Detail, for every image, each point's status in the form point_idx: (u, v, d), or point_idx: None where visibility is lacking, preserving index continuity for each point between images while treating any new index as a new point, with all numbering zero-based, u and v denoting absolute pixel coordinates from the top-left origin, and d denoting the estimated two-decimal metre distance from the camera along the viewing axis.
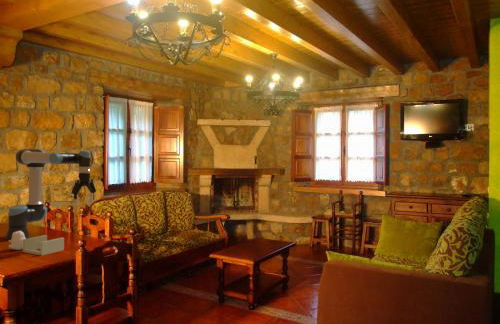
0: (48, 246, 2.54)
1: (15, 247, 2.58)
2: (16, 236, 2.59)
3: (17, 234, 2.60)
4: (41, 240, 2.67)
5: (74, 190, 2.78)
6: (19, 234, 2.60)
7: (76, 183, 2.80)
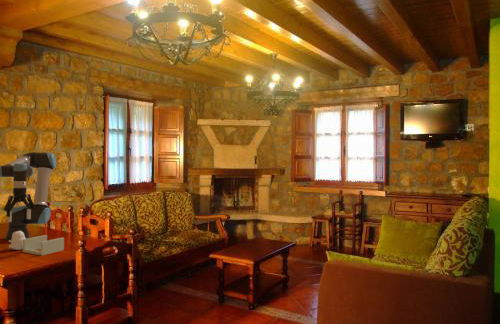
0: (48, 246, 2.54)
1: (15, 247, 2.58)
2: (16, 236, 2.59)
3: (17, 234, 2.60)
4: (41, 240, 2.67)
5: (6, 207, 2.53)
6: (19, 234, 2.60)
7: (9, 199, 2.56)
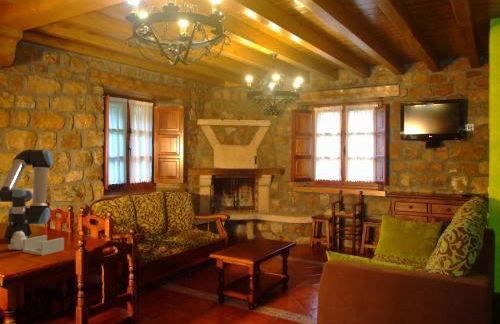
0: (48, 246, 2.54)
1: (15, 247, 2.58)
2: (16, 236, 2.59)
3: (17, 234, 2.60)
4: (41, 240, 2.67)
5: (7, 235, 2.54)
6: (19, 234, 2.60)
7: (8, 226, 2.56)
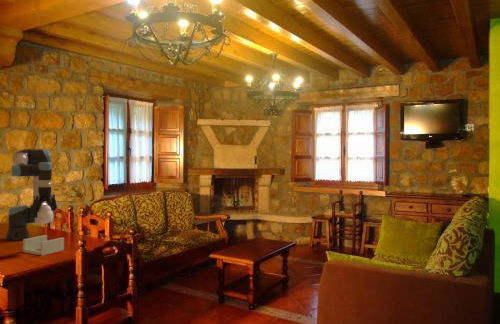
0: (48, 246, 2.54)
1: (42, 220, 2.56)
2: (43, 209, 2.57)
3: (44, 208, 2.58)
4: (41, 240, 2.67)
5: (34, 208, 2.52)
6: (46, 208, 2.58)
7: (35, 199, 2.53)
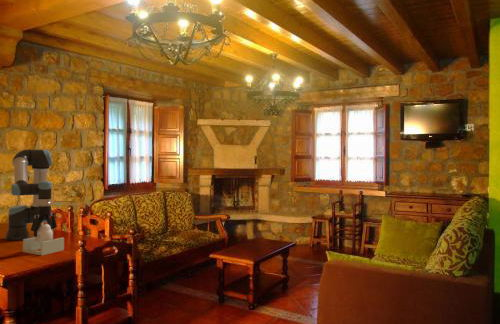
0: (48, 246, 2.54)
1: (42, 240, 2.56)
2: (43, 229, 2.57)
3: (44, 227, 2.58)
4: None
5: (33, 227, 2.52)
6: (46, 227, 2.58)
7: (35, 219, 2.54)
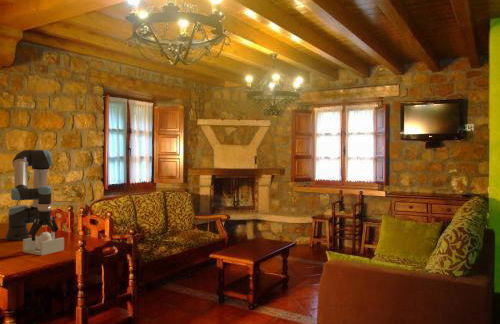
0: (48, 246, 2.54)
1: None
2: (43, 237, 2.57)
3: (44, 235, 2.58)
4: None
5: (32, 231, 2.51)
6: (46, 235, 2.58)
7: (34, 223, 2.53)
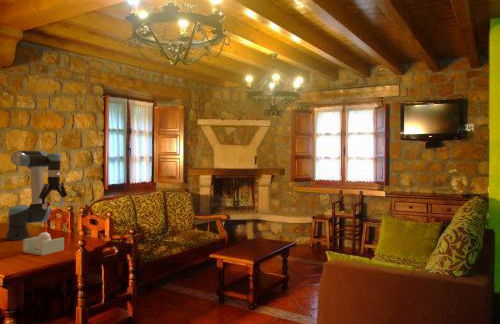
0: (48, 246, 2.54)
1: None
2: (42, 237, 2.57)
3: (43, 235, 2.58)
4: None
5: (42, 195, 2.65)
6: (45, 235, 2.58)
7: (44, 187, 2.67)
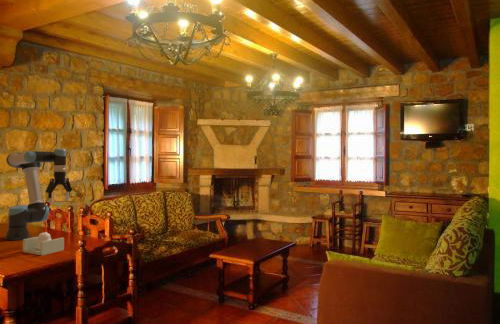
0: (48, 246, 2.54)
1: None
2: (42, 237, 2.57)
3: (43, 235, 2.58)
4: None
5: (48, 189, 2.74)
6: (45, 235, 2.58)
7: (51, 182, 2.77)
